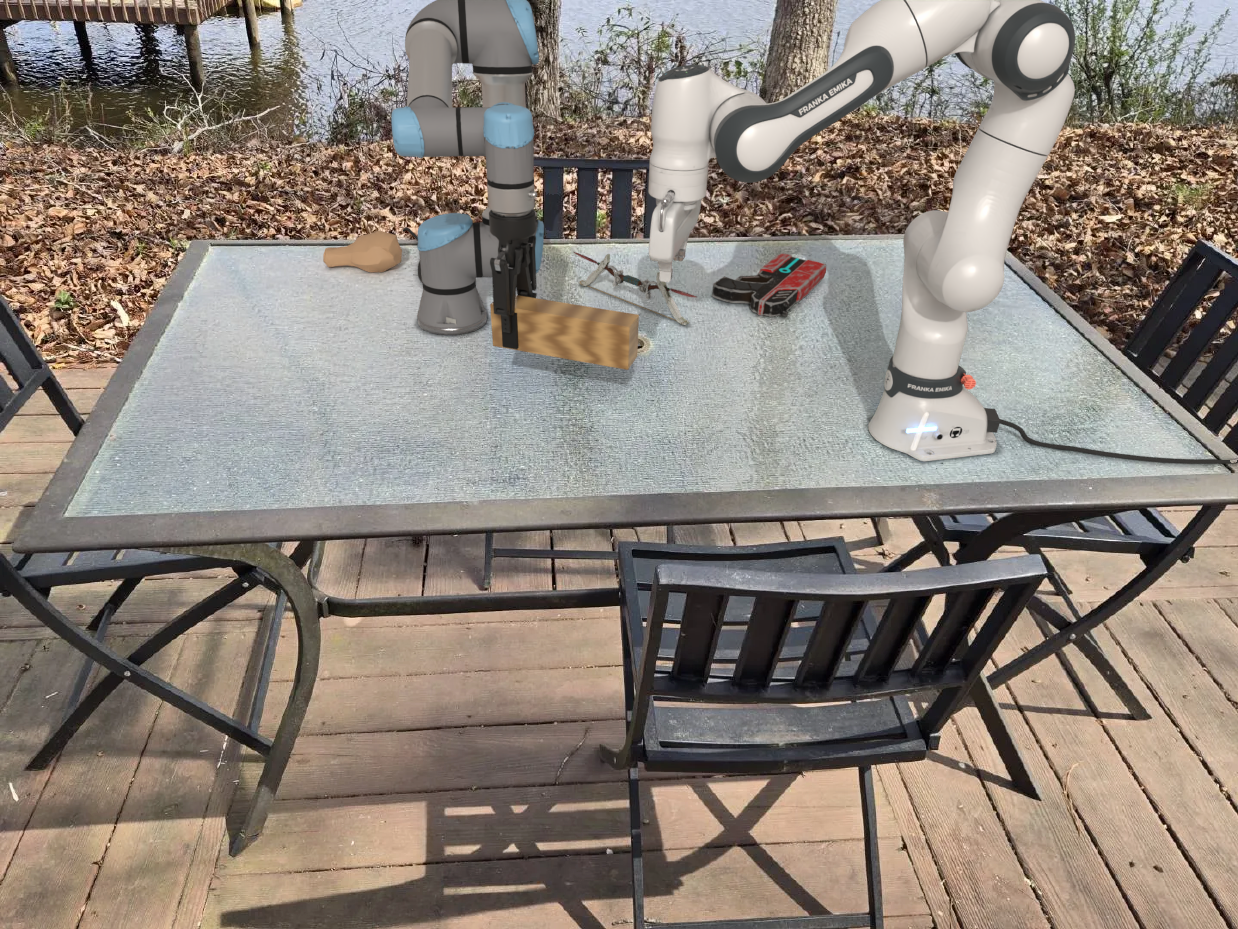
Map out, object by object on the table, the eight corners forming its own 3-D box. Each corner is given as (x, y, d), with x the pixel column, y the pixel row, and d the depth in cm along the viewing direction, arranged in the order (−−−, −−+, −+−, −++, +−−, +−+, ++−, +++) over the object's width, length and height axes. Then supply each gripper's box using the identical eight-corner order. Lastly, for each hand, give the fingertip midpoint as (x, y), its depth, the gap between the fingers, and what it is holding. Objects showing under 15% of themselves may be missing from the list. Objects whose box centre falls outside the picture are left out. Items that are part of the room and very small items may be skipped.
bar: (492, 346, 154) (490, 304, 149) (505, 333, 158) (503, 292, 153) (628, 370, 147) (629, 327, 143) (637, 356, 152) (639, 314, 147)
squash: (402, 276, 219) (391, 244, 212) (324, 283, 220) (312, 251, 214) (409, 253, 226) (400, 222, 220) (335, 261, 228) (323, 229, 222)
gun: (708, 284, 207) (784, 305, 199) (760, 245, 229) (831, 262, 221) (706, 302, 209) (781, 323, 201) (758, 261, 231) (828, 278, 223)
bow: (697, 327, 197) (701, 285, 192) (692, 329, 196) (696, 287, 191) (576, 279, 219) (576, 241, 213) (571, 281, 218) (571, 242, 212)
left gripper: (509, 230, 133) (515, 366, 146) (554, 196, 148) (556, 322, 161) (465, 223, 135) (475, 358, 148) (514, 190, 150) (519, 316, 163)
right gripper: (683, 204, 123) (677, 296, 131) (710, 167, 140) (703, 251, 148) (640, 199, 125) (636, 291, 132) (672, 163, 141) (667, 246, 149)
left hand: (517, 339), depth 154 cm, fingers closed on bar, 5 cm apart
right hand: (672, 269), depth 140 cm, fingers open, 8 cm apart
